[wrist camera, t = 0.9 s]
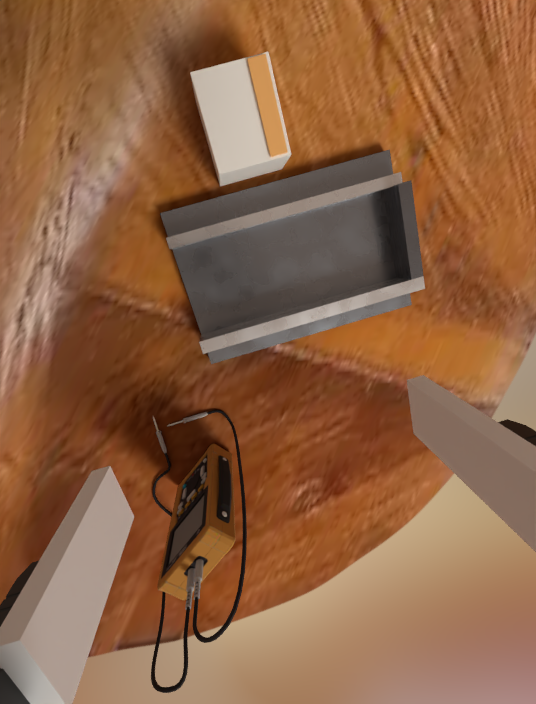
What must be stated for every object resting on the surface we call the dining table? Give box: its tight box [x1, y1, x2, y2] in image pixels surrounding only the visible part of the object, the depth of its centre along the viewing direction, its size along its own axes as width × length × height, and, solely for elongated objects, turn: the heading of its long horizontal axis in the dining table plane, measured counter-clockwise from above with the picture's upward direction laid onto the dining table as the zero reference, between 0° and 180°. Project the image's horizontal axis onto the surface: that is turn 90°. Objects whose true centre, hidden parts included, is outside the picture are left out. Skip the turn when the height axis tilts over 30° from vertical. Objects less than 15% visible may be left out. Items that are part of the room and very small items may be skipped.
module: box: [190, 52, 291, 186], centre depth 28 cm, size 7×6×5 cm
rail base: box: [160, 150, 425, 364], centre depth 32 cm, size 15×22×4 cm
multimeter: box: [151, 410, 247, 693], centre depth 29 cm, size 15×10×20 cm
